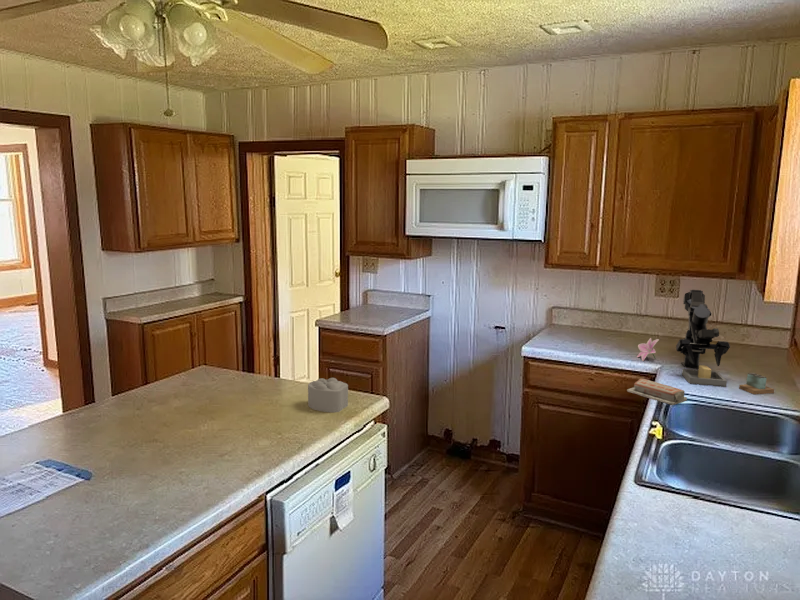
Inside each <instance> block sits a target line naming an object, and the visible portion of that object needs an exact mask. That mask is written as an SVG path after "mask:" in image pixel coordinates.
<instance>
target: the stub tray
mask: <svg viewBox="0 0 800 600" xmlns="http://www.w3.org/2000/svg"><path fill="white" fill-rule="evenodd" d="M698 371H699V369H693V368H692V369H690V368H689V369H688V368H682V371H681V375H682V376H683V378H684V379H685V380H686V382H687V383H688V384H689V383H690V385H697V384H699V385H700V386H708V385H713V386H712V387H720V386H721V388H722V387H723V388H727V383H728V380H727V379H726V378H725V377H724V376H723V375H722V374H720V372H719V371H717V370H711V378H710V379H708V378H698Z"/></svg>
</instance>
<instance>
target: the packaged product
mask: <svg viewBox="0 0 800 600" xmlns="http://www.w3.org/2000/svg"><path fill="white" fill-rule="evenodd" d="M626 391H627V392H628V393H630V394H631V393H632V394H635V395H637V396H641V397H644V398H647V399H651V400H653V401H656V400H657V402H661V403H664V404H668V405H670V406H675V405H678V404H681V403H684V402H686V401H688V399H687V397H686V396H685V393H686V392H685V390H684V389H682V388H681V389H680V388H677V387H673V386H672V385H671V386H670V385H667V384H664V383H660V382H656V381H653V380H649V379H645V378H639V379H638V380H637V381H635V382H634V384H633V387H631V388H628V389H626Z"/></svg>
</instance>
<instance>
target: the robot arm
mask: <svg viewBox="0 0 800 600" xmlns="http://www.w3.org/2000/svg"><path fill="white" fill-rule="evenodd" d="M705 301H706V295H705V294H704V290H701V289H700V290H699V289H689V291H687V292H686V293H684V294H683V300H682V302H683V303H682V304H683V305H684V310H686V312H687V316H688V329H687V330H686V332H685V336H684V337H685V338H680V339H679V340H678V342H677V343H676V345H675V346H676V347H675V348H676V352H680V354H683V355H684V361H681V365H683V367H684V368H692V369H693V368H696V369H699V365H700V357H701V355H705V354H706V352H707V351H706V350H713V351H714V358H715V362H716V365H717V367H719V366H720V365H721V359H722V356H723V355H725V354H727V352H728V351H729V350H730V348H731V345H730V343H729V341H725V340H724V341H723V340H718V341H717V342H716V343H715V344H713V343H712V342H713V339H715V338H718V337H720V330H719V328H716V327H715V328H712V329H708V328H707V324H708V321H709V318H710V317H711V316H712V312H711V310H710V309H709V308H708V305H707V304H706V303H705Z"/></svg>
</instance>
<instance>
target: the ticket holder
mask: <svg viewBox="0 0 800 600" xmlns="http://www.w3.org/2000/svg"><path fill="white" fill-rule="evenodd" d="M766 384H767V376H764V375H761V374H758V373H756V372H748V373H747V377H746V383H745V384H744V383H743V384H739V387H738V389H739V390H742V391H745V392H747V393H750V394H752V395H764V394H774V393H775V388H772V387H769V386H767V385H766Z"/></svg>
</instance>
